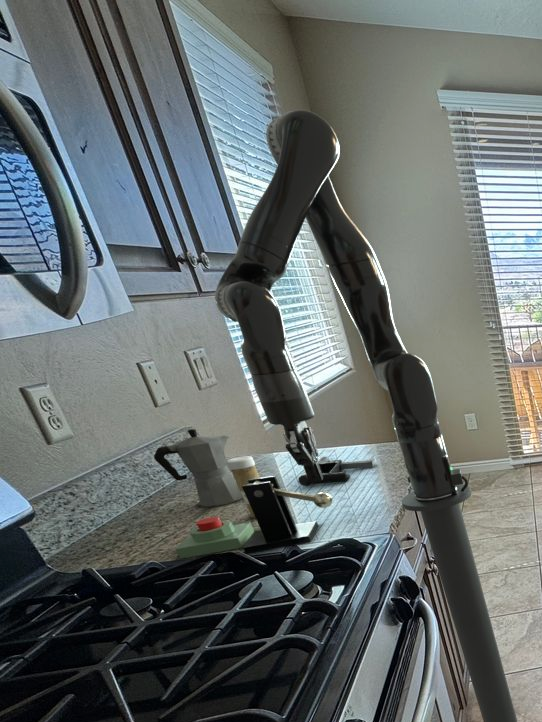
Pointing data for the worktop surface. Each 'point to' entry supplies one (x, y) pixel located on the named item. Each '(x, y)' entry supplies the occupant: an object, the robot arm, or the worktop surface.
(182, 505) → the worktop surface
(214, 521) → the red button
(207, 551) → the button box
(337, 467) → the black handled frame
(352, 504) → the worktop surface
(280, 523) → the switch bracket
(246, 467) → the sprinkles bottle
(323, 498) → the switch lever
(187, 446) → the coffeepot
